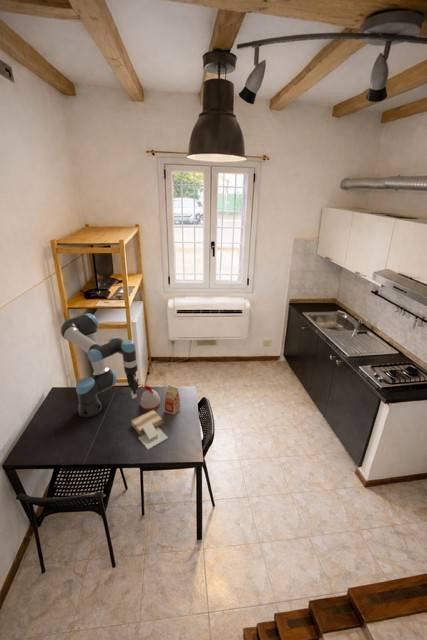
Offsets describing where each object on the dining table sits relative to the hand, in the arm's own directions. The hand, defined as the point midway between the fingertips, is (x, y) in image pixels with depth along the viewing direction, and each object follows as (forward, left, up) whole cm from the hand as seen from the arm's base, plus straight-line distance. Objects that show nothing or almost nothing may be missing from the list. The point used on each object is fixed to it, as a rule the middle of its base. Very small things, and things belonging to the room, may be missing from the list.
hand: (134, 397), depth 194 cm
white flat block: (+15, +1, -18) cm, 23 cm away
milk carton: (+4, +25, -21) cm, 33 cm away
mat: (+18, +1, -21) cm, 27 cm away
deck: (+6, +4, -21) cm, 22 cm away
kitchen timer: (-11, +16, -21) cm, 29 cm away
